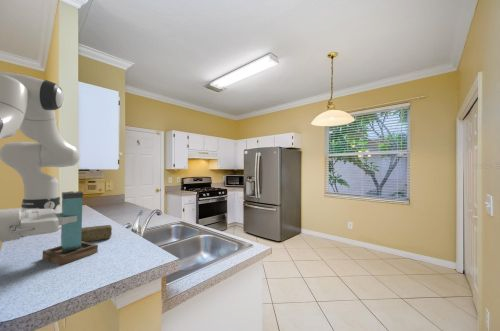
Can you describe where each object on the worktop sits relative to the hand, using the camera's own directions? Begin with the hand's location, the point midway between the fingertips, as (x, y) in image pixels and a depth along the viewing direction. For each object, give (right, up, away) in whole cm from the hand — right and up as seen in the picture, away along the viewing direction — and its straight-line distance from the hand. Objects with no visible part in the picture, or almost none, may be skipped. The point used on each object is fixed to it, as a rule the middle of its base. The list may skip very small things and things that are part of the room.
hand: (75, 216), depth 69 cm
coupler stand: (-1, -12, -1) cm, 12 cm away
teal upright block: (-1, -10, -1) cm, 10 cm away
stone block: (-5, -13, +14) cm, 20 cm away
